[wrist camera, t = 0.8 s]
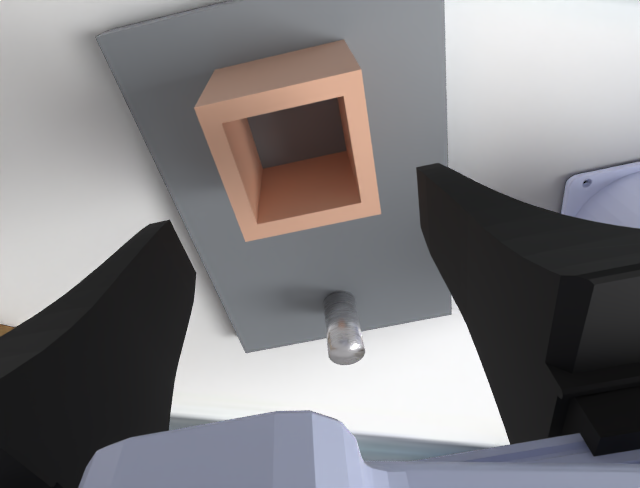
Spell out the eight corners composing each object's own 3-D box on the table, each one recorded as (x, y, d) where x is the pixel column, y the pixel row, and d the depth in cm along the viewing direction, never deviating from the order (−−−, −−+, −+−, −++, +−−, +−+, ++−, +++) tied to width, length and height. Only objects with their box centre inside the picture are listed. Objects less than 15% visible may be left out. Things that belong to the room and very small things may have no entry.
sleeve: (344, 39, 18) (361, 69, 14) (362, 160, 21) (381, 213, 17) (214, 69, 18) (194, 108, 14) (253, 184, 21) (245, 242, 17)
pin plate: (432, -50, 17) (482, -45, 13) (444, 298, 29) (473, 364, 24) (107, 30, 18) (49, 60, 14) (247, 336, 30) (240, 406, 25)
